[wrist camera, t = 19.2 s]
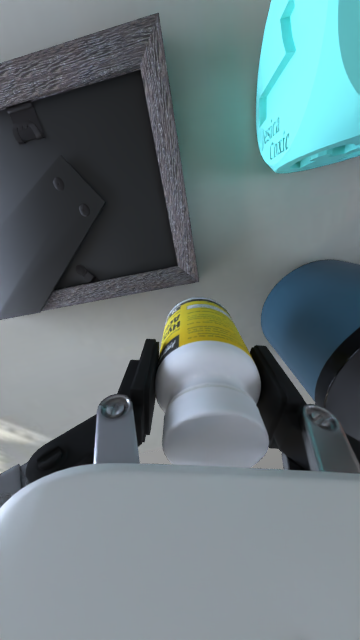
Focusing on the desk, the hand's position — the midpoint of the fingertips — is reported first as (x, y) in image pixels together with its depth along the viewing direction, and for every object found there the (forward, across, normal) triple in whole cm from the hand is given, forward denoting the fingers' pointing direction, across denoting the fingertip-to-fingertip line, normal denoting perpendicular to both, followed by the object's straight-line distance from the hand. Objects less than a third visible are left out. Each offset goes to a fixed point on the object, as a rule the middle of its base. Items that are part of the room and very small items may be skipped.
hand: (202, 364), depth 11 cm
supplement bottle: (+5, 0, 0) cm, 5 cm away
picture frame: (+10, +12, -8) cm, 18 cm away
